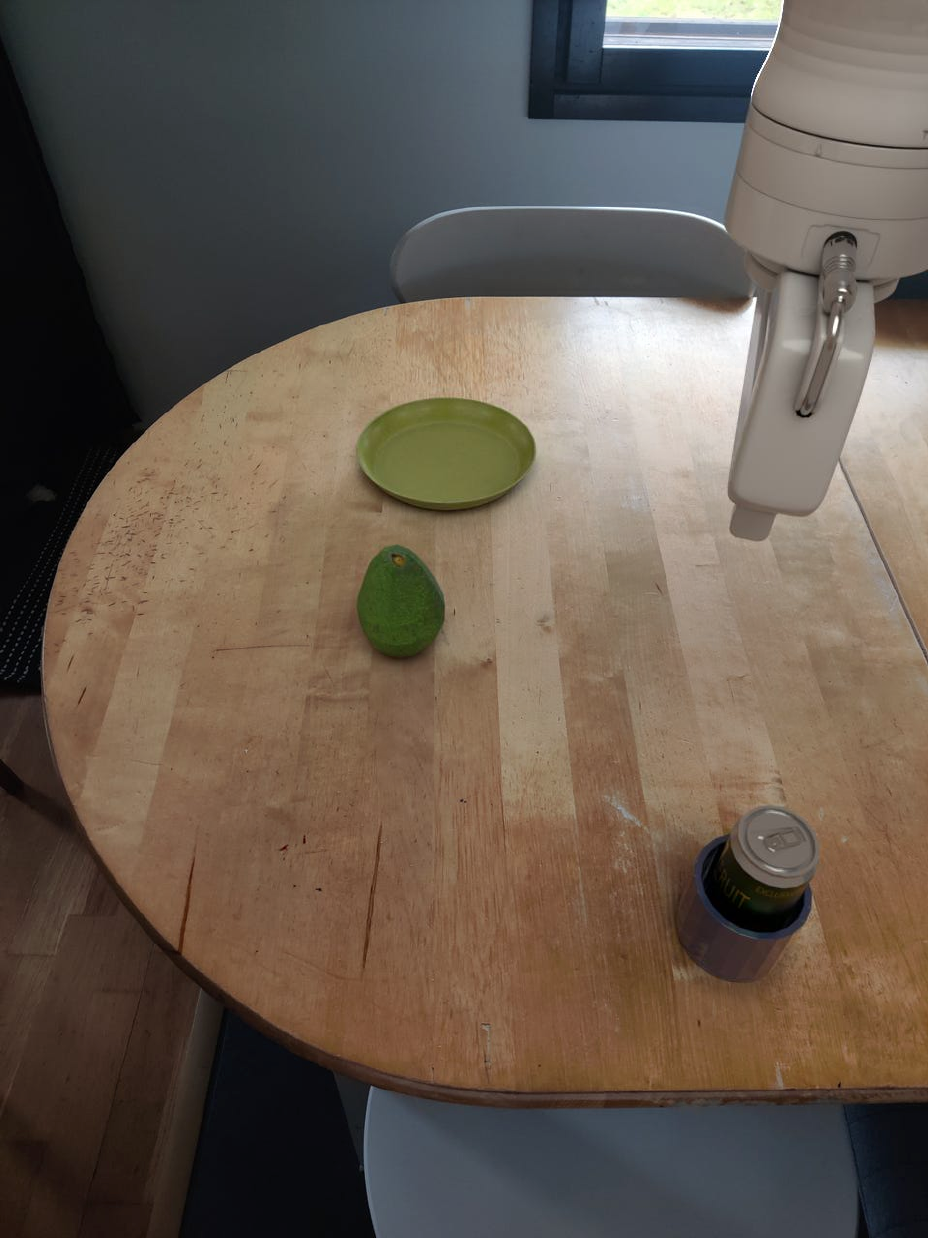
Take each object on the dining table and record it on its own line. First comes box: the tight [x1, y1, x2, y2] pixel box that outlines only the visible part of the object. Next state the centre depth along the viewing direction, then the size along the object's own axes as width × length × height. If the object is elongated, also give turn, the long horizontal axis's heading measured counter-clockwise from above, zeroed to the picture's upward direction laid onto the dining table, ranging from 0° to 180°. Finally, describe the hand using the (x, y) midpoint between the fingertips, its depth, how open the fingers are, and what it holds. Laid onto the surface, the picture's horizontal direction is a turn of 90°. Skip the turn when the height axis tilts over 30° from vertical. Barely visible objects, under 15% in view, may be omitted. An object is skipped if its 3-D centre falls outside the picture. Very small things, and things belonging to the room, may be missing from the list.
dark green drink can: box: [705, 804, 821, 933], centre depth 57 cm, size 5×5×12 cm
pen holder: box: [675, 832, 813, 983], centre depth 59 cm, size 8×8×7 cm
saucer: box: [355, 396, 537, 511], centre depth 100 cm, size 21×21×3 cm
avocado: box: [356, 544, 446, 659], centre depth 77 cm, size 8×8×12 cm
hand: (754, 474), depth 44 cm, fingers open, 8 cm apart
